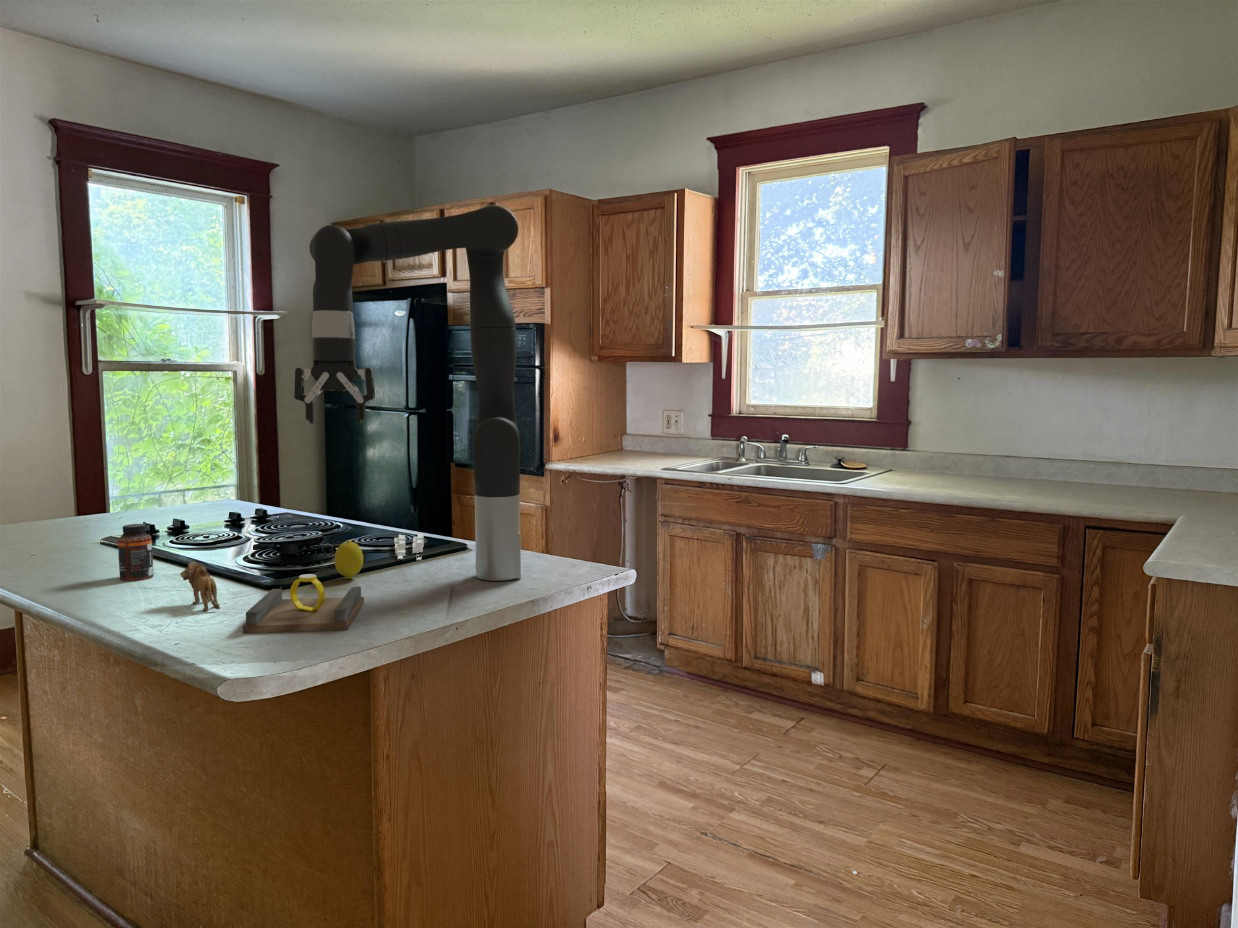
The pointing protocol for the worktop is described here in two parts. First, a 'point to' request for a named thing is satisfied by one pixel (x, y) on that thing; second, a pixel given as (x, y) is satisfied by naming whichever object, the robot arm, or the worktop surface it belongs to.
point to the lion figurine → (201, 584)
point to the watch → (319, 588)
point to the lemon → (348, 559)
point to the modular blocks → (400, 545)
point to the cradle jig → (302, 613)
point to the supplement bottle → (135, 553)
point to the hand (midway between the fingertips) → (336, 423)
